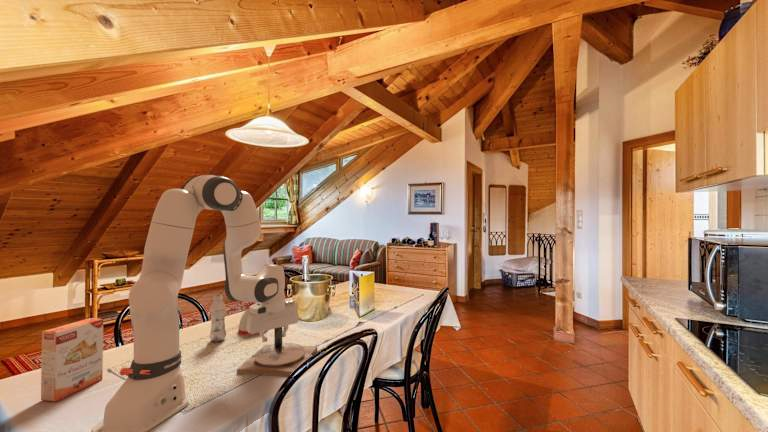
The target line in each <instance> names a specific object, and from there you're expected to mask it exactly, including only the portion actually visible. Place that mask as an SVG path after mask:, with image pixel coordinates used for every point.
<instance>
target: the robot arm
mask: <svg viewBox="0 0 768 432" xmlns="http://www.w3.org/2000/svg"><path fill="white" fill-rule="evenodd" d="M204 209H205V210H213V211H219V212H220V213H222V216H223V218H224V224H225V228H226V238H224V240H223V245H222V246H223V247H222V249H223V250H222V252H223V261H224V273H225V284H224V293H225V295H226V298H227V299H228V300H229V301H231V302H244V303H245V302H246V303H249V302H250V303H252V302H254V303H255V302H256V303H255V304H253V305H251V306H250V307H249V306H248V307H249V311H250V312H251V313H249V315H248V317H247V326H246V329H247V332H248V333H250V334H253V335H256V334H255V333H259V334H258V335H260V337H261V341H262V343H267V342H268V336H266V335H264V334H266V333H265V332H267V331H271V330H274V329H275V328H279V327H282V338H285V337H287V331H288V329H289V326H290V325H295V324H298V322H299V320H300V317H299V310H298V309H299V304H298V302H297V301H295V300H291V301H286V295H285V288H286V287H285V286H286V277H285V271H284V267H283V266H282V265H280V264H271V263H267V264H264V265H263V266H262V269H261V270H260V271H259V272H258V273H257V274H256V275H247V274H246V273H245V272H243V271H244V270H243V264H242V252H243V250H244V249H246V248H248V247H250V246H252V245H254V244H255V243H256V242H257V241H258V240H259V238H260V237H261V235H262V226H261V225H262V224H261V221H260V217H259V212H258V209H257V206H256V203H255V201H254V199H253V197H252V195H251V194H250V193H249V192H247V191H244V190H240V188H239V187H238V185H237V184H236V183H235V182H234V181H233V180H232V179H230V178H228V177H226V176H222V175H214V174H204V175H203V174H198V175H195V176H192V177H191V178H189V179H188V180H186V182H185V183H184V184H183V185H181V187H180V188H170V189H167V190H165V191H164V192H163V193H162V194H161V197H160V198H159V199H158V202H157V203H156V207H155V209H154V212H153V214H152V217H151V221H150V225H149V229H148V233H147V236H146V241H145V244H144V248H143V249H144V250H143V259H142V265H141V271H140V275H139V278H138V280H136V281H135V282H134V283H133V284H132V286H131V287H130V289H129V293H128V306H129V314H130V321H131V326H132V334H133V335H132V336H133V358H132V361H131V364H130V367H121V368H120V370H119V375H120V377H121V376H125V377H127V378H126V380H125V381H124V382H123V383H122V384H121V386H120V387H119V389H118V390H117V391H116V392H115V393H114V395H113V396H112V398H110V400H108V402H107V403H106V405H105V408H104V413H103V419H102V420H100V421H99V422H98V423H97V424H96V425H94V426H93V427H92V428H91V430H90V431H91V432H148V431H150V430H151V429H153V428H155V427H157V426H158V425H159V424H161V423H162V422H164V421H165V420H167V419H168V418H170V417H172V416H173V415H175V414H176V413H178V412H179V411H181V410H182V409H184V408H186V407H187V406H189V404H190V403H189V399H188V397H187V394H186V388H185V381H184V379H185V378H184V375H183V372H182V369H181V364H182V350H180V321H179V320H180V319H179V309H178V307H179V306H178V297H179V293H180V290H181V287H182V283H183V278H184V273H185V269H186V264H187V260H188V254H189V251H190V248H191V247H190V246H191V242H192V239H193V235H194V230H195V225H196V221H197V220H196V219H198V215H199V214H200V213H201V212H202V211H203V210H204Z"/></svg>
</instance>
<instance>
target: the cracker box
mask: <svg viewBox="0 0 768 432" xmlns="http://www.w3.org/2000/svg"><path fill="white" fill-rule="evenodd" d="M103 357H104V319H103V318H96V317H89V318H84V319H81V320H78V321H75V322H72V323H68V324H64V325H61V326H57V327H53V328H50V329H45V330H43V331H41V359H40V360H41V361H40V363H41V366H40V367H41V369H40V371H41V372H40V373H41V374H40V375H41V376H40V377H41V379H40V381H41V382H40V385H41V386H40V398H41V399H40V400H41V401H46V402H54V403H56V402H58V401H60V400H61V399H65V398H66V397H70V396H71V395H73V394H75V393H78V392H79V391H81V390H83V389H85V388H87V387H89V386H92V385H94V384H96V383H98V382H100V381H102V380H103V369H104V367H103V363H104V361H103V360H104V359H103Z"/></svg>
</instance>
